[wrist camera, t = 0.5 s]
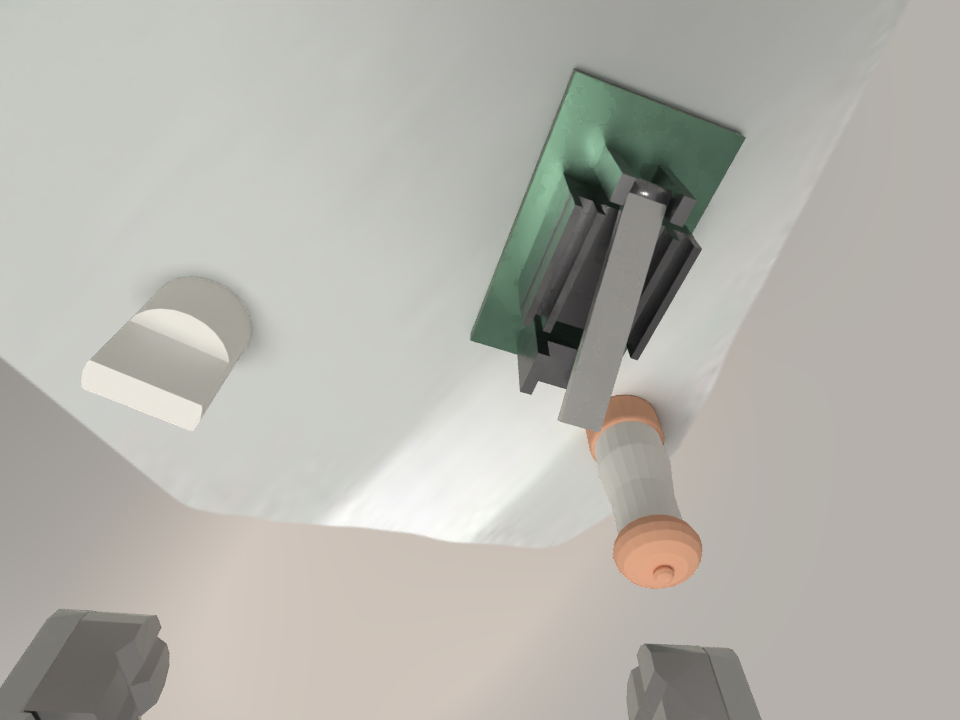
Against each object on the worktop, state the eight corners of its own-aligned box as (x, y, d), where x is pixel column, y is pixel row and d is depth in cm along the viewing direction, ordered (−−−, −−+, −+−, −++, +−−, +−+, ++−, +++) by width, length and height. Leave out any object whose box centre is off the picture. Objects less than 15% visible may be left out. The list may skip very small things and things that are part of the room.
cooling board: (573, 69, 45) (589, 89, 38) (740, 133, 48) (784, 164, 41) (470, 333, 58) (467, 387, 51) (606, 374, 60) (622, 431, 53)
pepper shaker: (618, 460, 66) (659, 621, 50) (570, 425, 64) (597, 582, 48) (671, 420, 63) (733, 577, 47) (623, 382, 61) (671, 534, 45)
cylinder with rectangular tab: (143, 335, 59) (71, 413, 49) (167, 259, 54) (93, 327, 44) (235, 374, 61) (185, 457, 51) (265, 304, 57) (216, 379, 47)
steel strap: (627, 178, 44) (635, 173, 43) (664, 192, 44) (674, 187, 43) (556, 419, 44) (562, 422, 42) (594, 430, 44) (601, 433, 43)
